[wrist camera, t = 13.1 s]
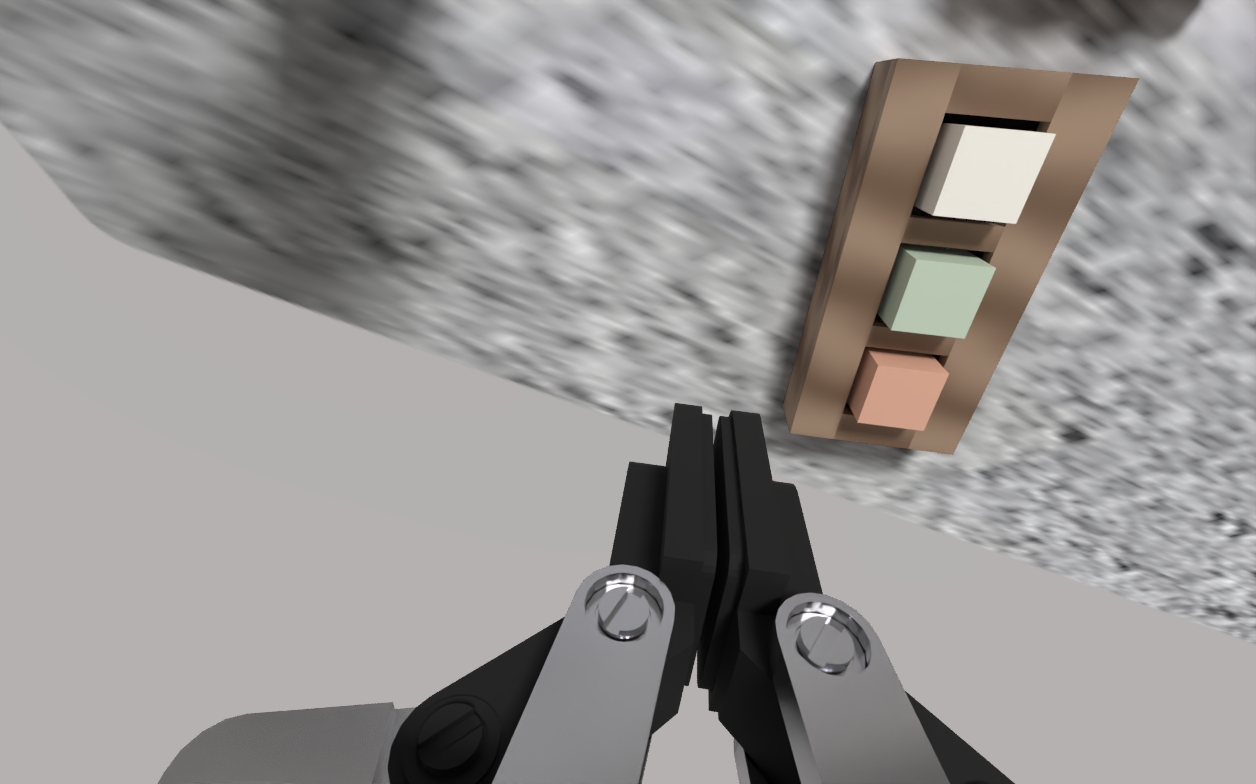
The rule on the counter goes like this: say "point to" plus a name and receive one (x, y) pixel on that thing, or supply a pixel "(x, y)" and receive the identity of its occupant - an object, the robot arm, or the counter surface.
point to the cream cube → (982, 172)
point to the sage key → (934, 290)
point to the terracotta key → (896, 388)
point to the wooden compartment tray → (939, 235)
